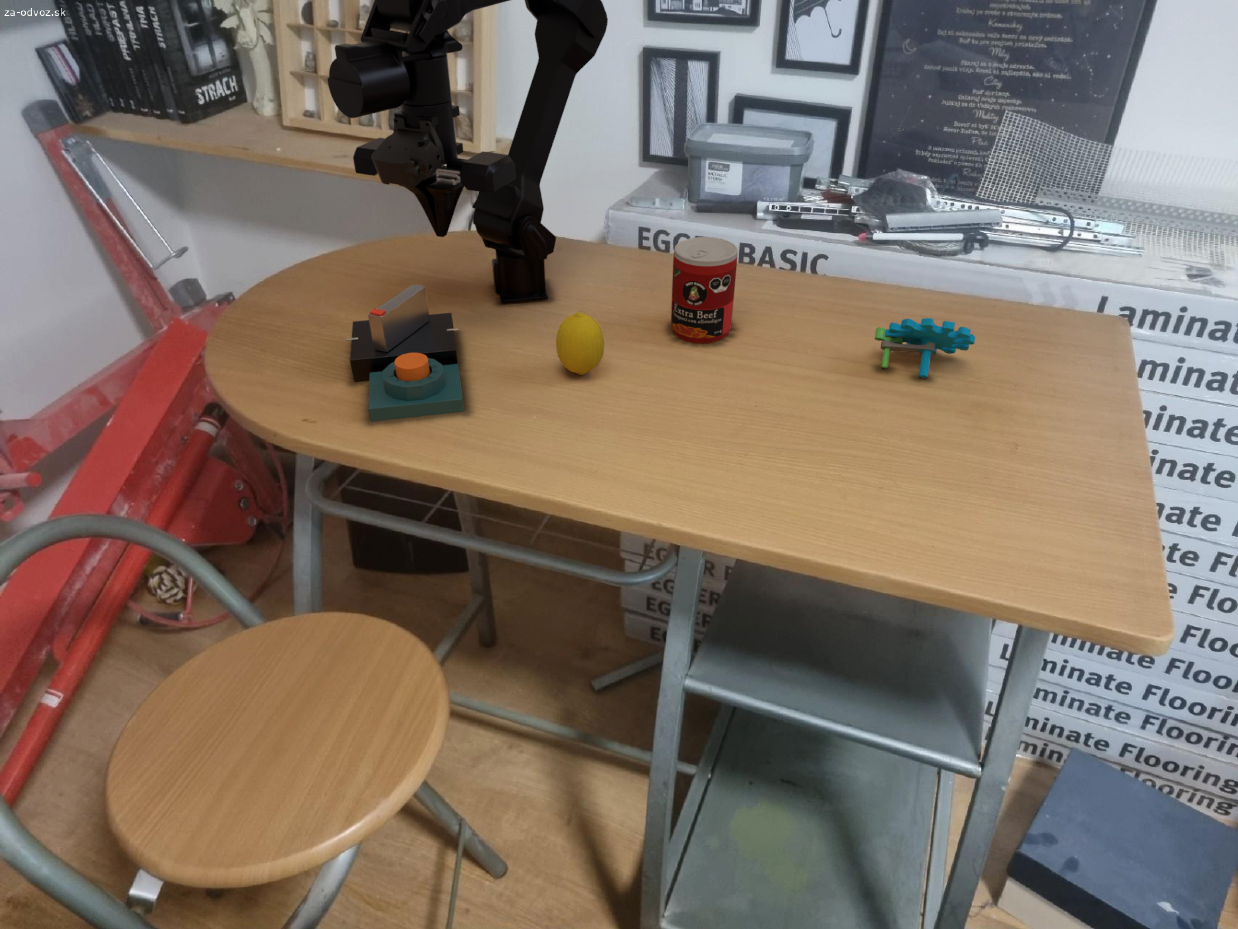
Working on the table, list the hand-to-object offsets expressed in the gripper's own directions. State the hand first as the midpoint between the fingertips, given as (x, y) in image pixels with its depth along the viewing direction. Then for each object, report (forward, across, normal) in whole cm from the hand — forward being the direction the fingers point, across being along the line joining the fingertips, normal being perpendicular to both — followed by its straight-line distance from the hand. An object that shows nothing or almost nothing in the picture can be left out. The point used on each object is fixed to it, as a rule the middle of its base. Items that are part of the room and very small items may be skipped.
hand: (441, 235), depth 106 cm
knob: (+9, -1, -10) cm, 13 cm away
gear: (+12, +57, +13) cm, 60 cm away
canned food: (+12, +30, +11) cm, 34 cm away
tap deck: (+12, -1, -10) cm, 15 cm away
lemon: (+12, +21, -5) cm, 24 cm away
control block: (+12, +6, -17) cm, 22 cm away
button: (+9, +6, -17) cm, 20 cm away
